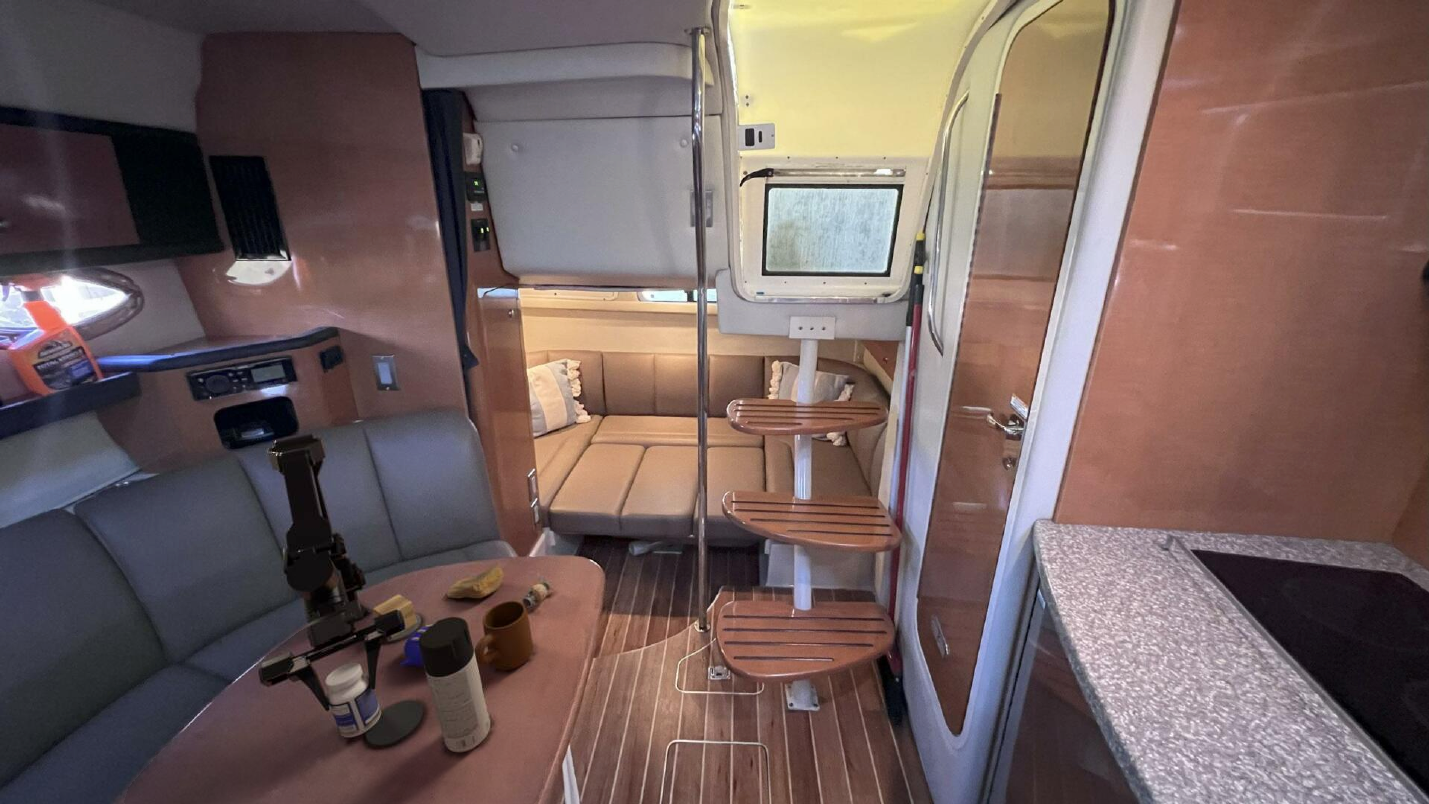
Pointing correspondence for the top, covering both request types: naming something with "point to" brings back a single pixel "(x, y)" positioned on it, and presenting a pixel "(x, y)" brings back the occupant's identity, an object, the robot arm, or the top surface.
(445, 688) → the spray can
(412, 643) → the decorative object
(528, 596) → the vase
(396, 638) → the coaster
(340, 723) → the pill bottle
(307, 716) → the top surface
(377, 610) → the block
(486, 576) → the stone
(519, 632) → the mug
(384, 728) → the coaster
